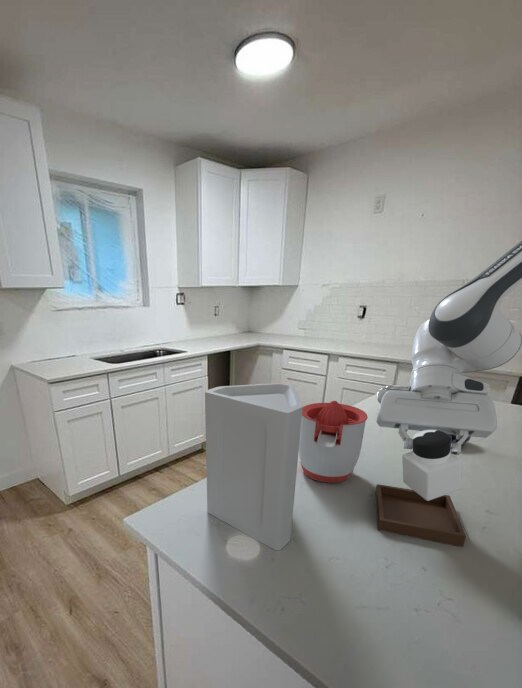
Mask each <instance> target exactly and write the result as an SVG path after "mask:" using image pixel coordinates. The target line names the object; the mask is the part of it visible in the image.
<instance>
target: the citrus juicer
mask: <svg viewBox="0 0 522 688" xmlns="http://www.w3.org/2000/svg"><path fill="white" fill-rule="evenodd" d="M368 418H369V417H368V414H367V413H366V412H365V411H364V410H362V409H360V408H359V407H356V406H353V405H348V404H344V403H339V402H338V401H337V400H332V401H331V402H315V403H310V404H307V405H303V408H302V419H301V430H300V441H299V452H298V457H299V462H300V466H301V469H302V471H303V473H304V474H305V475H306V476H307V477H308V476H309V477H308V478H310V479H312V480H315V481H318V482H321V483H329V484H330V483H333V484H334V483H341V482H345V481H346V480H347V479H349V477H351V475H352V473H353V472H354V469H355V467H356V466H357V463H358V460H359V458H360V454H361V451H362V446H363V439H364V434H365V428H366V421H367V420H368Z"/></svg>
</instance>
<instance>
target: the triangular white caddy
mask: <svg viewBox="0 0 522 688" xmlns="http://www.w3.org/2000/svg"><path fill="white" fill-rule="evenodd" d="M303 407H304V405H303V403H302V401H301V399H300V396H299V394H298V392H297V390H296V388H295V386H294V385H293V384H290V383H285V382H274V383H273V382H272V383H255V384H239V385H237V384H236V385H221V386H216V387H212V388H209V389H206V390H204V415H205V419H204V421H205V452H206V453H205V461H206V462H205V465H206V509H207V513H208V514H210V516H211V515H212V517H215V518H217V519H218V520H220V521H222V522H223V523H226V524H227V525H229V526H231V527H232V528H235V529H236V530H238V531H240V532H242V533H243V534H245V535H247V536H249V537H250V538H253V539H254V540H256V541H258V542H260V543H261V544H263V545H265V546H267V547H269V548H271V549H272V550H274V551H280V550H282V549H283V548H284V547H285V546H286V545H287V544H289V543H290V541H291V537H292V528H293V527H292V526H293V517H294V516H293V515H294V506H295V496H296V495H295V493H296V484H297V483H296V482H297V471H298V463H299V462H298V461H299V441H300V430H301V419H302V408H303Z"/></svg>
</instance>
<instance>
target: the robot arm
mask: <svg viewBox="0 0 522 688" xmlns="http://www.w3.org/2000/svg"><path fill="white" fill-rule="evenodd" d="M521 285H522V240H521V241H519V242H518V243H517V244H516V245H514V246H512V248H510V249H509V250H508V251H506V253H504V254H502V256H500V257H499V258H497V260H495V261H494V262H493V263H492V264H490V265H489V266H488V267H486V269H484V270H482V271H481V272H480V273H479V274H478V275H477V276H475V277H473V279H472V280H470V281H468V282H467V283H466V284H464V285H462V286H461V287H459V288H458V289H456V290H453V292H451V293H449V294H447V295H446V296H445V297H443V298H442V299H441V300H439V302H438V303H437V304H436V306H435V307H434V308H433V309H432V312H431V314H430V317H429V319H427V320H425V321H424V322H423V323H421V324H420V325H419V327H418V328H417V331H416V333H415V335H414V338H413V342H412V343H413V344H412V349H411V360H410V361H411V365H412V371H411V372H410V376H409V386H402V385H401V386H397V385H395V386H394V385H386V386H384V387H382V388H379V390H378V391H377V396H376V397H377V398H376V399H377V402H378V403H379V406H378V411H377V414H376V420H375V421H376V424H377V425H378V426H379V427H381V428H387V429H397V430H398V432H397V433H398V435H399V436H400V439H402V441H403V449H405V450H413V440H412V438H413V437H411V438H410V436H409V435H408V432H409V431H416V432H420V431H424V430H439V431H442V432H445V433H446V434H454V435H456V439H458V440H459V439H460V440H459V441H458V442H457V444H456V443H452V444H451V448H450V453H451V454H453V455H455V456H460V454H461V452H462V445H463V444H462V443H463V442H464V441H465V440H466V439H467V437H468V436H471V437H473V438H481V439H482V438H483V439H486V438H488V437H490V436H491V435H492V434H494V433H495V431H496V430H497V429H498V415H497V410H496V406H495V402H494V400H493V399H492V397H490V396H489V394H490V392H491V385H490V384H489V383H487V382H485V381H481V380H478V379H475V378H471V377H468V376H466V375H463V374H461V373H465V374H466V373H474V372H475V373H476V372H481V371H488V370H493V369H496V368H499V367H501V366H503V365H505V364H506V363H508V362H510V361H511V360H512V359H513V358H515V356H516V355H517V354H518V352H519V351H520V349H521V346H522V334H521V332H520V331H519V330H518V328H516V326H515V325H514V324H513V322H512V321H511V320H510V319H509V318H507V317H506V315H505V314H504V313H503V312H502V310H501V309H500V306H501V303H502V301H503V300H504V299H505V298H506V297H507V296H508V295H510V294H511V293H512V292H513V291H515V290H516V289H518V288H519V287H520V286H521ZM408 430H409V431H408Z"/></svg>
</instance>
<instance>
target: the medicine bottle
mask: <svg viewBox="0 0 522 688" xmlns="http://www.w3.org/2000/svg"><path fill="white" fill-rule="evenodd" d="M411 438H412V440H413V448H412V450H411V451H409V452H406V453H403V454H402V455H401V456H402V457H401V460H402V461H401V462H402V483H404V484H405V485H406V486H408V488H409V489H411V490H414V491H415V492H416V493H418V494H419V495H420V496H422V497H423V498H424V499H425V500H427V501H429V500H432V499H435V498H438V497H440V496H443V495H449V494H452V493H455V492H458V491H460V490H462V489H461V488H462V473H463V460H462V459H461V458H460V457H458V456H457V455H453V454H451V453H450V448H451V438H450V436H449V435H448V434H446V433H445V432H442V431H439V430H424V431H417V433H415V434H414V435H413V436H412V437H411Z"/></svg>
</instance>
